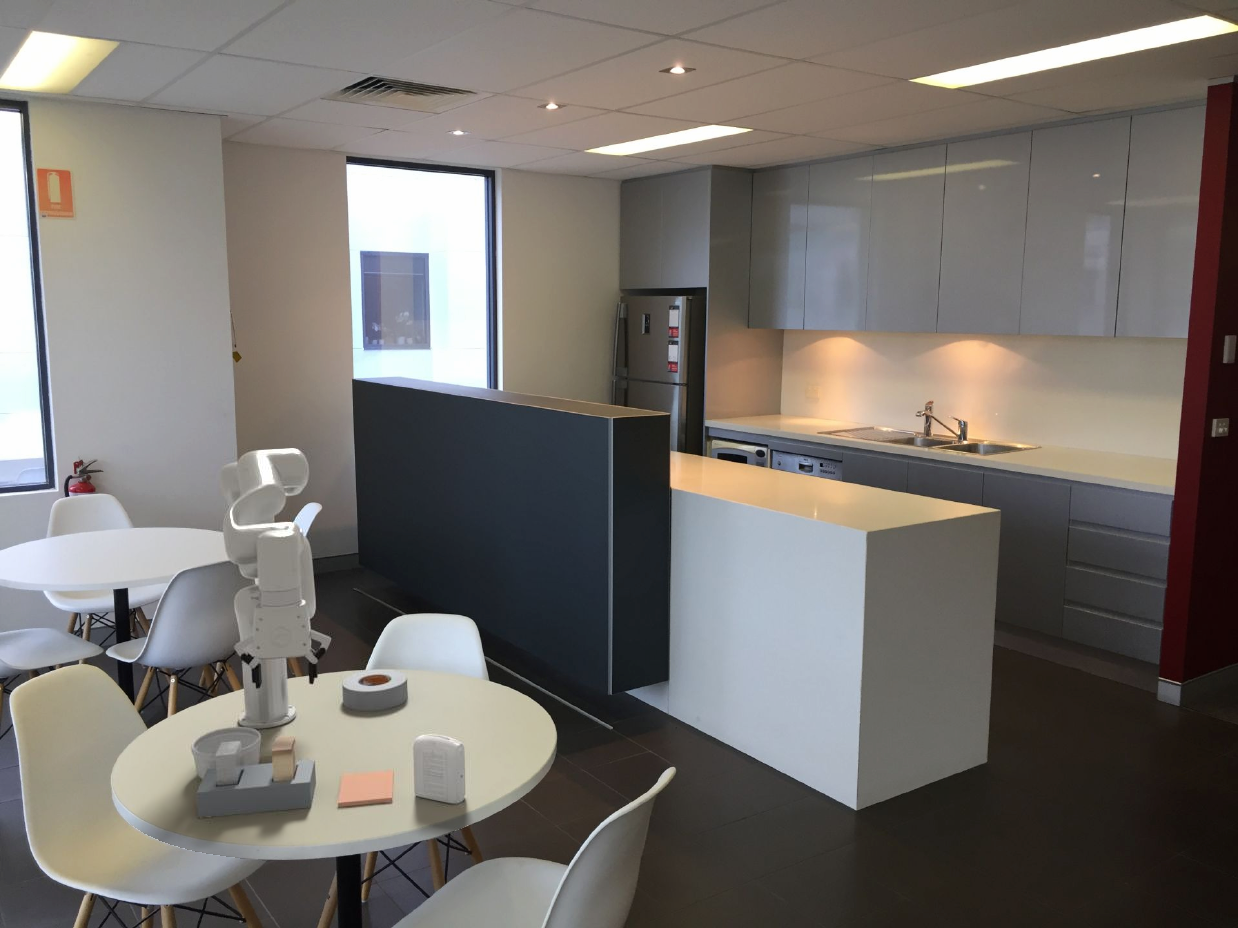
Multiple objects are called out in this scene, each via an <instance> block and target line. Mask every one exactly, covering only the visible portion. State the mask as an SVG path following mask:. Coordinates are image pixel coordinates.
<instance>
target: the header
mask: <svg viewBox="0 0 1238 928" xmlns="http://www.w3.org/2000/svg"><path fill="white" fill-rule="evenodd" d="M296 765H297V771H296V775H295V779H294V780H285V781H274V780H273V763H272V762H269V763H259V764H256V765H245V766H242V770H243V774H242V777H241V780H240V782H239V785H231V786H220V787H217V773H216V768H212V769H207V771H206V773H205V775H204V778H203V780H202V779H201V782H200V785H199V787H198V789H197V791H196V802H197V804H196V805H197V806H196V807H197V818H198V817H206V818H210V817H209V816H216V817H223V816H222V815H226V816H232V815H231V814H236V815H245V814H255V813H264V812H273V811H285V810H295V809H296V810H297V809H304V808H312V805H313V799H314V794H315V789H316V784H317V777H316V773H317V772H316V759H314V758H312V759H302V760H296Z"/></svg>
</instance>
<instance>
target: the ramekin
mask: <svg viewBox="0 0 1238 928" xmlns="http://www.w3.org/2000/svg"><path fill="white" fill-rule="evenodd" d="M233 741H241V754H242V766H245V765H256V764H260V763H259V762H260V752H261V744H262V735H261V732H260V731H258V730H257V729H256V728H247V727H244V726H233V727H232V726H231V727H224V728H219V729H215V730H211V731H209V732H206V733H203V734H201V735H200V736H197V738H195V740H193V742H192V743H191V748H190V749H191V754H192V756H193V760H194V767H195V770H196V774H197V776H198V777H199V778H200V779H201V781H202V780H203V778H204V775H205V773H206V771H207V769H212V768H216V758H215V756H216V753H217V751H218V749H219V747H220V744H221V742H233Z"/></svg>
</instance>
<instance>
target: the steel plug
mask: <svg viewBox="0 0 1238 928" xmlns="http://www.w3.org/2000/svg"><path fill="white" fill-rule="evenodd" d="M215 758H216V773H217V787H220V786H231V785H239V782H240V780H241V777H242V774H243V770H242V754H241V741H233V742H221V744H220V747H219V749H218V751H217V753H216V756H215Z"/></svg>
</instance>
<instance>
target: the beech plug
mask: <svg viewBox="0 0 1238 928" xmlns="http://www.w3.org/2000/svg"><path fill="white" fill-rule="evenodd" d="M296 747H297V746H296V736H295V735H294V736H293V735H292V736H281V737H280V736H279V737H275V740H274V743H273V746H272V749H271V763H273V780H274V781H285V780H294V779H295V775H296V771H297V765H296V761H297V751H296Z"/></svg>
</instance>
